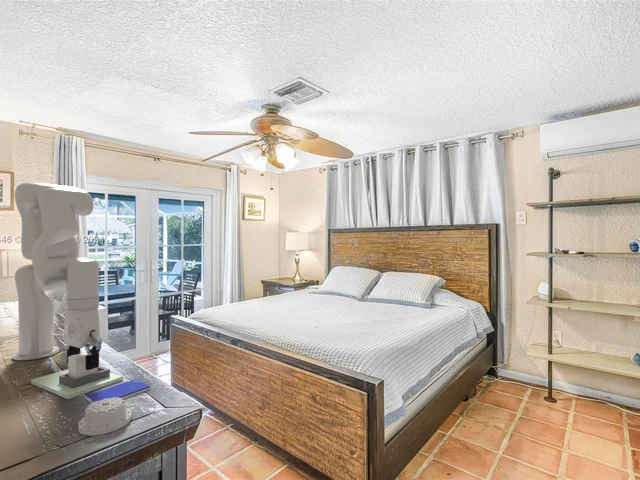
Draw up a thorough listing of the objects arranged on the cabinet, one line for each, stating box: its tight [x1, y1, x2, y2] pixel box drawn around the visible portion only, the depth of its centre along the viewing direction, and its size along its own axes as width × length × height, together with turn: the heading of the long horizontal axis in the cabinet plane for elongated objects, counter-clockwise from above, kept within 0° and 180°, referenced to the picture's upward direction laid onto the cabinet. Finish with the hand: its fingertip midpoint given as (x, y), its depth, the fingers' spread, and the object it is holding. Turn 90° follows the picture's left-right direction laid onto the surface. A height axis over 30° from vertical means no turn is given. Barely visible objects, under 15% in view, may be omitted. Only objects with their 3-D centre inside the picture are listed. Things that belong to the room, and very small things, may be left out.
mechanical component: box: [77, 397, 133, 437], centre depth 76 cm, size 10×4×10 cm
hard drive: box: [84, 378, 151, 404], centre depth 90 cm, size 2×8×12 cm
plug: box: [67, 351, 98, 379], centre depth 97 cm, size 4×6×7 cm, turn 148°
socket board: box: [30, 365, 124, 400], centre depth 98 cm, size 20×14×3 cm
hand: (82, 365), depth 97 cm, fingers open, 9 cm apart
